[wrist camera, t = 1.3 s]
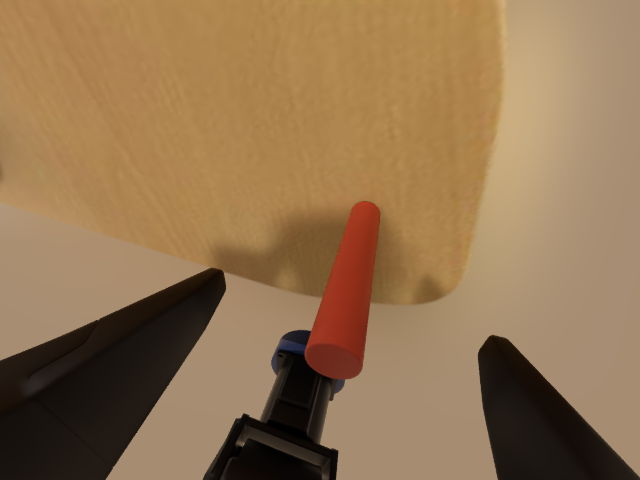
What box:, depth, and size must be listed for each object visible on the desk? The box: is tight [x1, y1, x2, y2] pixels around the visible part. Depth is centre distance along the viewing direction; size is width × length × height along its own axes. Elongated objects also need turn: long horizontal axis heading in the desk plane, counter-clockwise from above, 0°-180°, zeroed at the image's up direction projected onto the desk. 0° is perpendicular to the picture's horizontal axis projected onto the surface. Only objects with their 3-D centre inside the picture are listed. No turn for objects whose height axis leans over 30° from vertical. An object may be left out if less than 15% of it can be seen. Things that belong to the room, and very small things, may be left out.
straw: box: [305, 201, 380, 379], centre depth 11 cm, size 2×2×9 cm
